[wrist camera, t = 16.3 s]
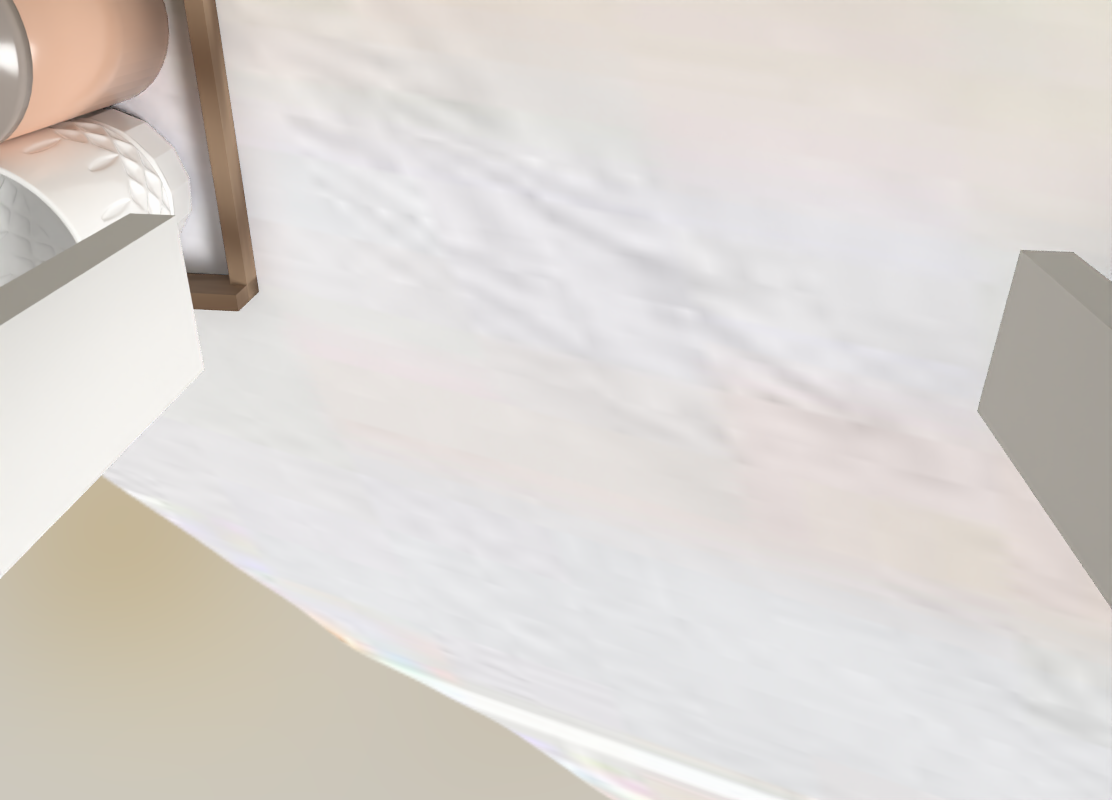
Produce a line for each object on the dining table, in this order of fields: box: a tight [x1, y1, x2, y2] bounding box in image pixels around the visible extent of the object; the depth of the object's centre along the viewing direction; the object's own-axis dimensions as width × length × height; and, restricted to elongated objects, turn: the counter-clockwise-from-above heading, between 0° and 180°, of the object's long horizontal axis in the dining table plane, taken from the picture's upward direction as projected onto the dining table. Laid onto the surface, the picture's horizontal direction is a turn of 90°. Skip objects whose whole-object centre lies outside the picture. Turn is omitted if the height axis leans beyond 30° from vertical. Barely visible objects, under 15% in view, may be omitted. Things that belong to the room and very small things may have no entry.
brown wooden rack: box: [184, 0, 259, 311], centre depth 36 cm, size 23×12×7 cm, turn 179°
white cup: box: [0, 109, 192, 287], centre depth 38 cm, size 8×8×10 cm
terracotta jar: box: [0, 0, 169, 144], centre depth 34 cm, size 8×8×11 cm
